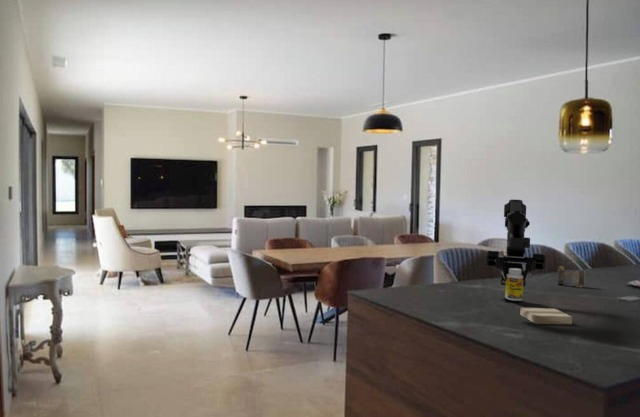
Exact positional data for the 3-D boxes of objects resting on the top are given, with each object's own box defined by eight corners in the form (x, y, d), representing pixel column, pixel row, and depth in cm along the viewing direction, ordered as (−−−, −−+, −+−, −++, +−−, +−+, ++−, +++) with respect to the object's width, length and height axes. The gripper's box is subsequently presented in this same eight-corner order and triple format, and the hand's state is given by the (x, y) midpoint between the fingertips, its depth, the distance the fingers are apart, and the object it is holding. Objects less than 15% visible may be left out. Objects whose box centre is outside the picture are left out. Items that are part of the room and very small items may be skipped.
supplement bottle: (506, 300, 172) (508, 269, 171) (503, 296, 177) (504, 267, 177) (524, 301, 171) (525, 270, 170) (520, 297, 176) (521, 267, 176)
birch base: (520, 314, 181) (520, 307, 180) (554, 315, 181) (554, 308, 181) (535, 323, 169) (535, 315, 168) (571, 324, 169) (572, 316, 169)
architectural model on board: (557, 286, 243) (558, 265, 242) (557, 285, 246) (558, 264, 245) (584, 288, 238) (585, 267, 238) (584, 287, 241) (585, 266, 240)
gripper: (487, 227, 180) (485, 263, 170) (546, 230, 173) (547, 267, 164) (487, 247, 187) (485, 283, 178) (543, 250, 181) (544, 288, 171)
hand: (514, 280), depth 172 cm, fingers closed on supplement bottle, 5 cm apart
